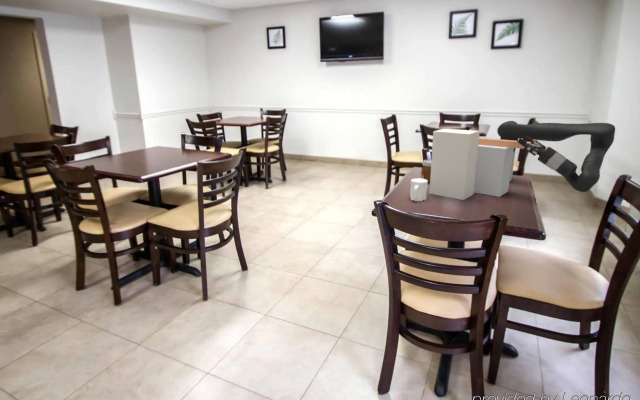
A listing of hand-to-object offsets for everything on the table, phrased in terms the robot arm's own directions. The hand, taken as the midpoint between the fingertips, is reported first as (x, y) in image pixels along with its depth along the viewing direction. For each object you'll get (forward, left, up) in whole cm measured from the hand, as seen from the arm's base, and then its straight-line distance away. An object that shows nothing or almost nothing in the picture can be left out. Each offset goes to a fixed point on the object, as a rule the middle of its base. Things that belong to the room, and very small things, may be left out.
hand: (521, 138), depth 182 cm
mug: (+34, -34, -29) cm, 56 cm away
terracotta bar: (0, -9, -4) cm, 10 cm away
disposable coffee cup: (+1, -45, -29) cm, 54 cm away
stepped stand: (+8, -19, -28) cm, 35 cm away
